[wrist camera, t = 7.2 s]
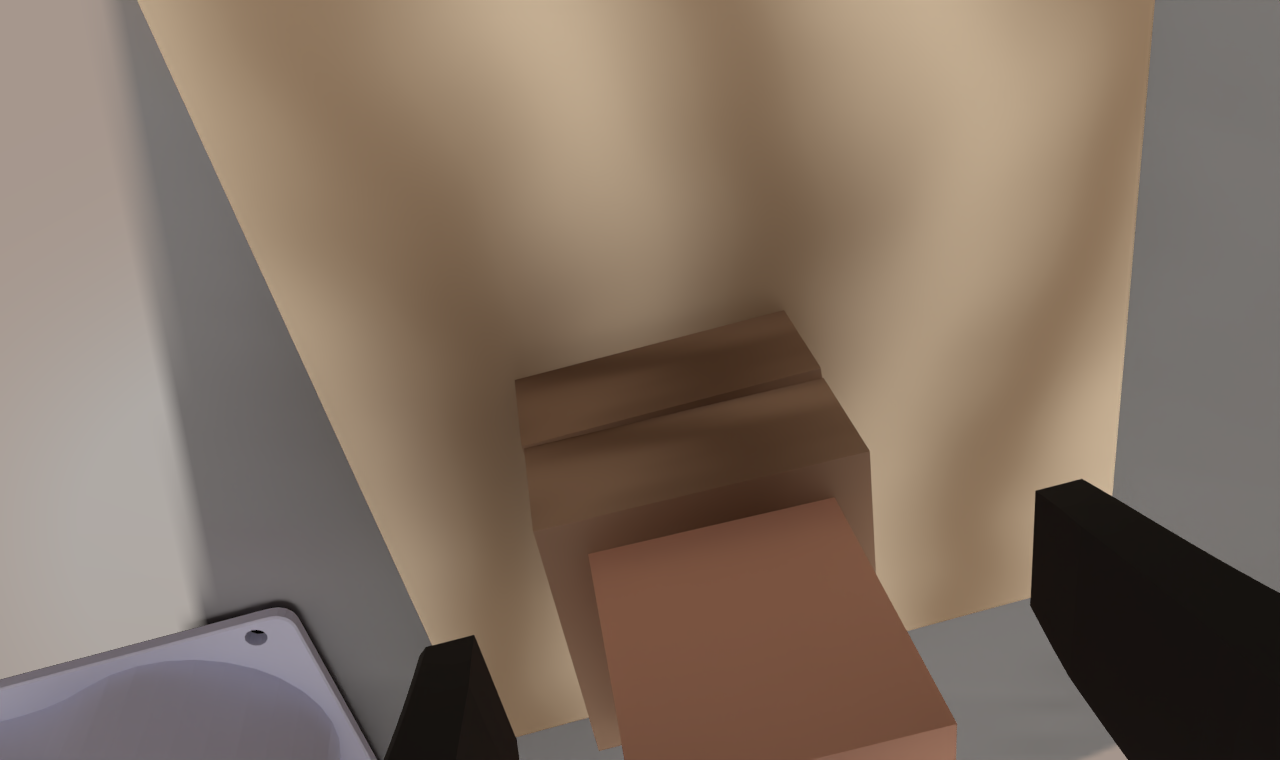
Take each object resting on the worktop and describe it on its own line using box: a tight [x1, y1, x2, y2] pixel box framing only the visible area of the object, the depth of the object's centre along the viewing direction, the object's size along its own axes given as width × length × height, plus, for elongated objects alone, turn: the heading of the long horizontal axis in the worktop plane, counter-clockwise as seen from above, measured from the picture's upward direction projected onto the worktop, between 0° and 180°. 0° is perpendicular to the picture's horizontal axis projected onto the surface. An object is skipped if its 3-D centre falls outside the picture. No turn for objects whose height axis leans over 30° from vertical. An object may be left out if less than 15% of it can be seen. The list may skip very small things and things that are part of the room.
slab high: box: [524, 378, 876, 751], centre depth 19 cm, size 6×6×2 cm
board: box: [137, 0, 1155, 737], centre depth 21 cm, size 18×22×1 cm
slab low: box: [515, 310, 822, 455], centre depth 21 cm, size 6×6×2 cm
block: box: [588, 497, 957, 760], centre depth 16 cm, size 4×4×5 cm
